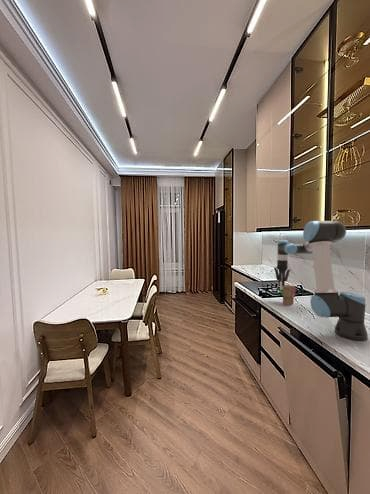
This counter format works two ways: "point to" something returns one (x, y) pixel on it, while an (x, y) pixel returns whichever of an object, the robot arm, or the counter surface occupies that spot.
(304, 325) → the counter surface
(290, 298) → the walnut block
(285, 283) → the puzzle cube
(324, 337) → the counter surface
